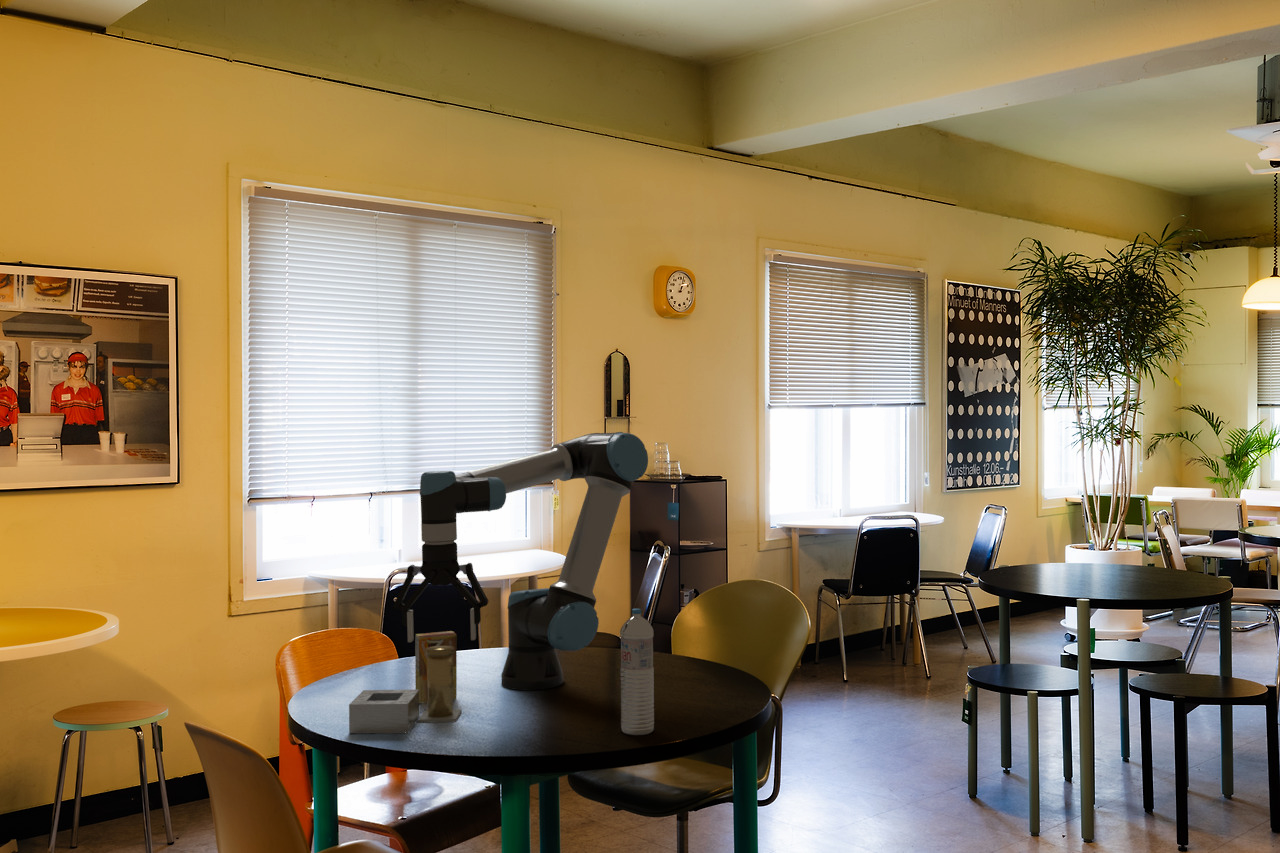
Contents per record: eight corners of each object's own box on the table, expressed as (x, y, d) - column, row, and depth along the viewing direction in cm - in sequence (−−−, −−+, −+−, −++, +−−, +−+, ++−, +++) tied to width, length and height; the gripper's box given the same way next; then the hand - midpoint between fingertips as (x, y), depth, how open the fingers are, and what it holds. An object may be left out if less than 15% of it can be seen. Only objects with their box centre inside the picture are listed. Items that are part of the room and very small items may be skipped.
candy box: (452, 695, 240) (452, 630, 241) (457, 699, 237) (457, 633, 237) (414, 700, 237) (414, 633, 237) (419, 704, 233) (419, 636, 233)
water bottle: (619, 727, 213) (619, 606, 213) (652, 726, 213) (651, 606, 214) (622, 736, 206) (621, 612, 206) (655, 735, 207) (654, 611, 207)
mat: (461, 711, 226) (461, 709, 226) (455, 721, 218) (455, 719, 218) (425, 712, 226) (425, 709, 226) (418, 722, 218) (418, 719, 218)
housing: (419, 717, 222) (419, 689, 222) (408, 733, 210) (408, 703, 210) (363, 718, 221) (363, 690, 221) (349, 733, 209) (349, 704, 209)
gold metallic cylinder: (456, 710, 225) (456, 645, 225) (452, 717, 219) (451, 650, 219) (429, 710, 225) (428, 645, 225) (423, 718, 219) (423, 651, 219)
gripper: (499, 538, 226) (501, 634, 226) (385, 542, 226) (388, 638, 226) (495, 542, 219) (497, 641, 219) (377, 546, 218) (380, 645, 218)
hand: (442, 640), depth 222 cm, fingers open, 13 cm apart
